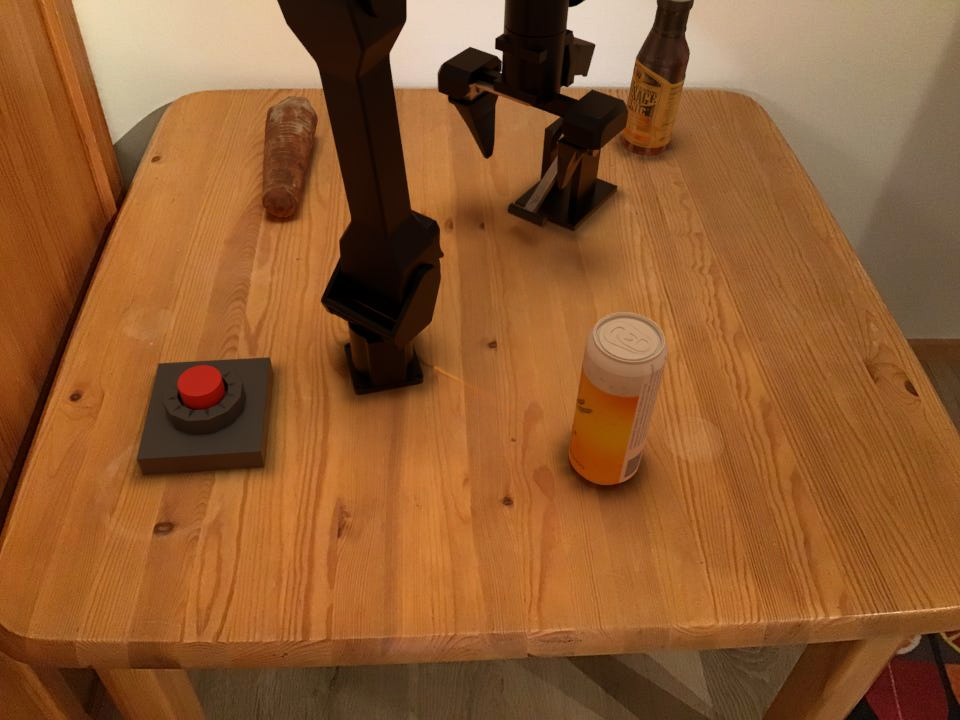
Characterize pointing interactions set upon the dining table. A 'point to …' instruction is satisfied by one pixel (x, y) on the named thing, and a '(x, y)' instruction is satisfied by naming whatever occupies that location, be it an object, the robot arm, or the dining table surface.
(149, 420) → the button box
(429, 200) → the dining table surface
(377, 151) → the robot arm
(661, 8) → the sauce bottle
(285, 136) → the brown tapered cylinder
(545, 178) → the lever
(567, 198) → the bracket
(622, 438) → the beer can
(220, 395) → the button
